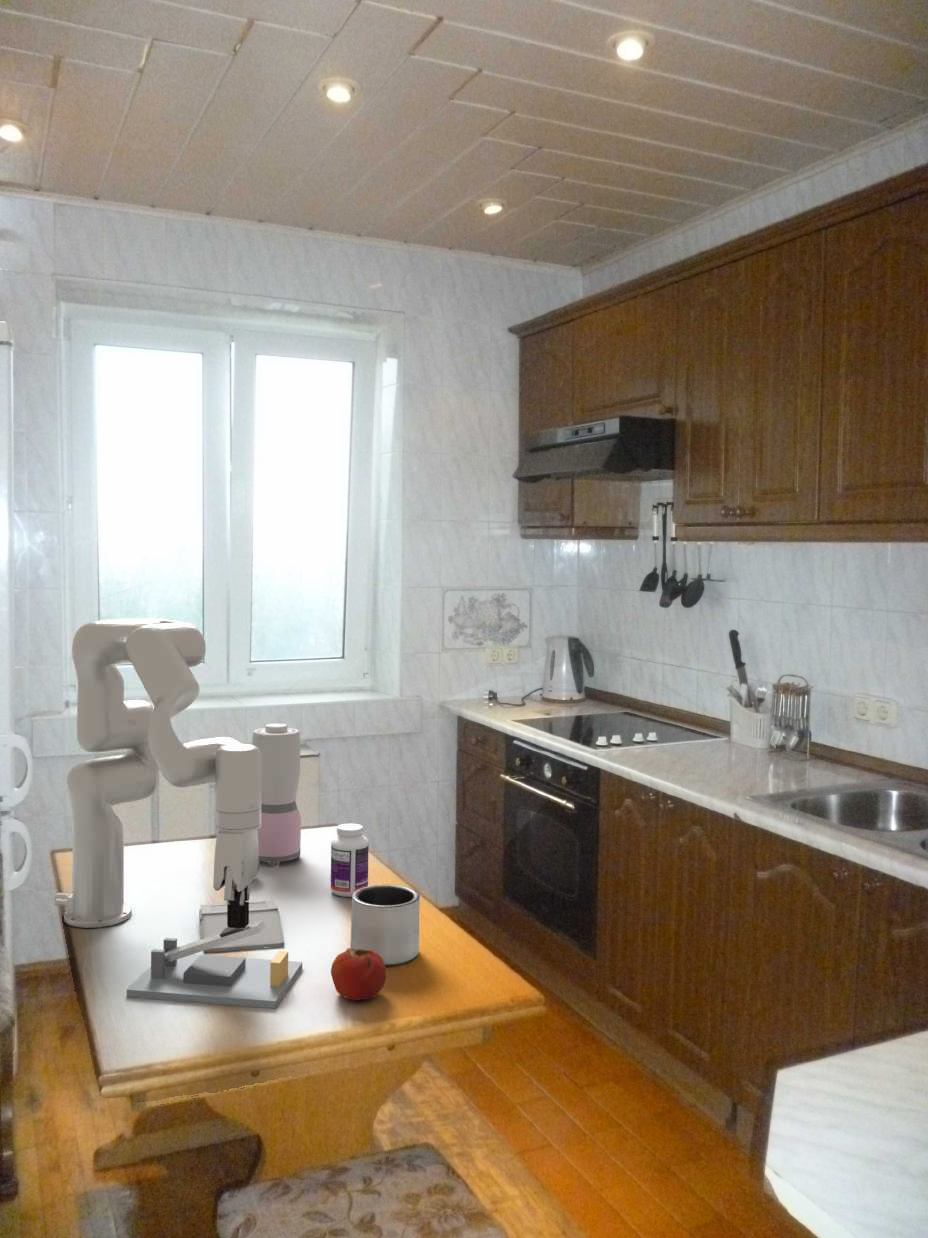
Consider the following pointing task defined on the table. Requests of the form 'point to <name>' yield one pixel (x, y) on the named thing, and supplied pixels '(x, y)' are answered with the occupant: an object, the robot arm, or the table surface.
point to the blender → (279, 793)
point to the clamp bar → (214, 941)
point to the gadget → (259, 910)
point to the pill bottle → (349, 860)
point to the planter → (386, 922)
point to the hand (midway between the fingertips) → (238, 926)
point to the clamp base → (216, 994)
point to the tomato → (358, 974)
